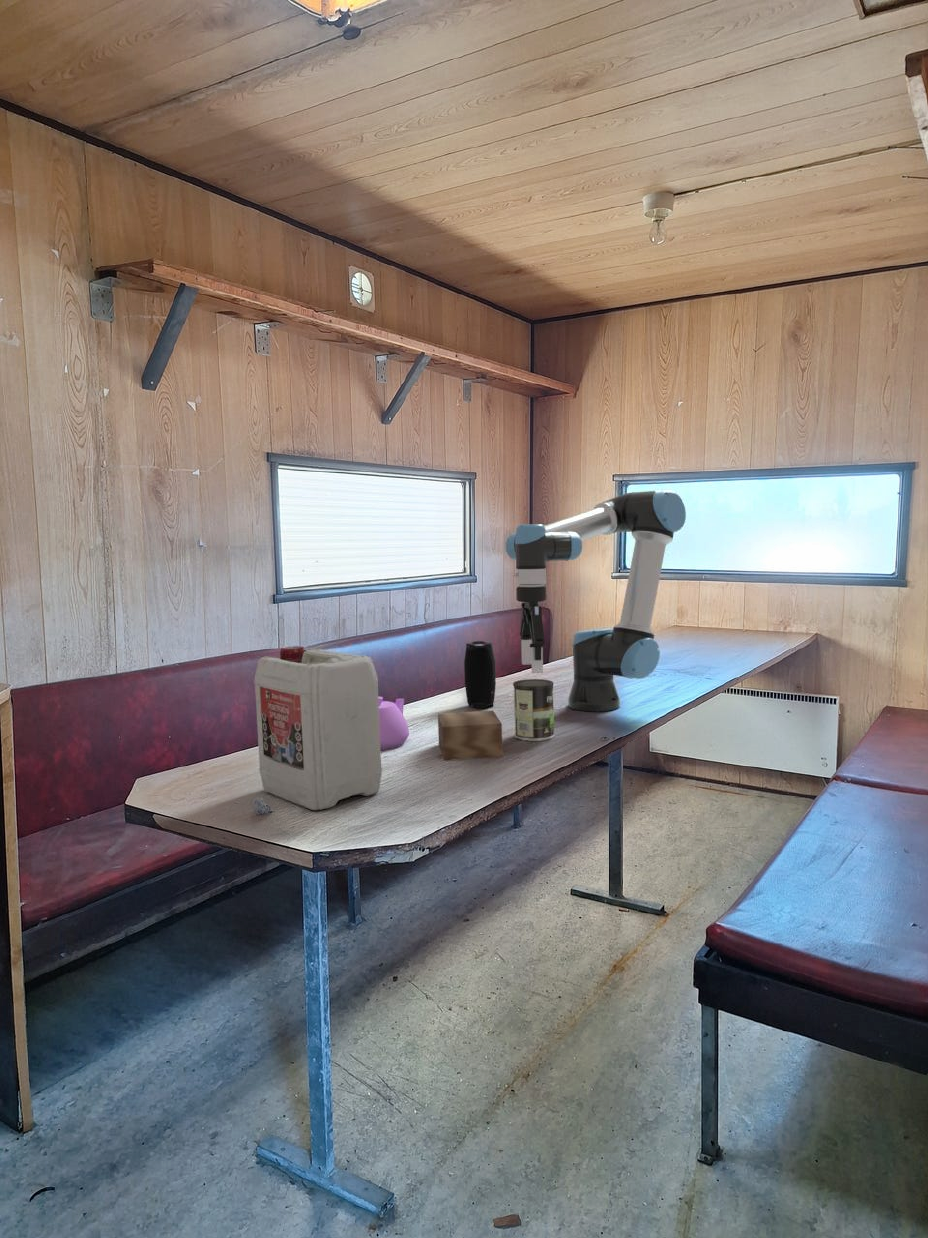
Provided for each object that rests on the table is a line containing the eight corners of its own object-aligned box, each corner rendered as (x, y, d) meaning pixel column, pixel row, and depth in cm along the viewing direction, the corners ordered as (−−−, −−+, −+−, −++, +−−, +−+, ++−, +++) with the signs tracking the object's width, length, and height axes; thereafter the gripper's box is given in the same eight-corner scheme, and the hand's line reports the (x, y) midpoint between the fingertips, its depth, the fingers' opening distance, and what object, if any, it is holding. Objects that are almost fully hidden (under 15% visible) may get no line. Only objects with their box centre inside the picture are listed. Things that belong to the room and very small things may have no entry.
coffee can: (556, 731, 211) (555, 678, 210) (552, 742, 201) (551, 686, 200) (517, 730, 213) (516, 678, 212) (511, 741, 203) (510, 686, 202)
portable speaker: (501, 706, 243) (499, 642, 240) (474, 711, 238) (472, 645, 236) (486, 701, 250) (484, 639, 248) (460, 705, 245) (458, 642, 243)
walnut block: (493, 741, 203) (493, 710, 202) (502, 756, 189) (501, 723, 189) (438, 744, 202) (437, 713, 201) (443, 760, 188) (442, 726, 187)
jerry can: (252, 791, 169) (243, 651, 166) (325, 771, 182) (319, 640, 179) (316, 818, 152) (308, 662, 149) (392, 793, 165) (387, 649, 162)
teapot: (377, 758, 192) (375, 708, 191) (327, 750, 200) (324, 703, 199) (427, 736, 211) (426, 691, 209) (380, 730, 219) (378, 687, 217)
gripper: (508, 583, 215) (509, 661, 217) (525, 589, 190) (526, 677, 193) (535, 582, 216) (536, 660, 218) (556, 588, 191) (557, 676, 193)
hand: (532, 668), depth 205 cm, fingers open, 13 cm apart
